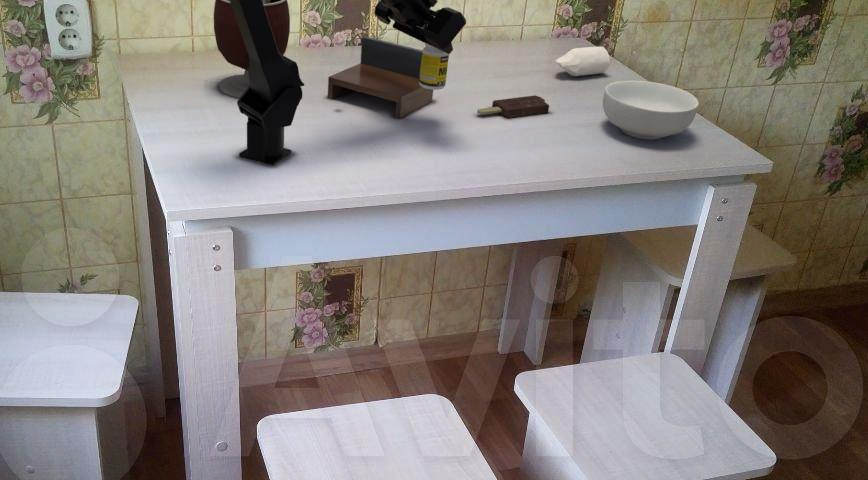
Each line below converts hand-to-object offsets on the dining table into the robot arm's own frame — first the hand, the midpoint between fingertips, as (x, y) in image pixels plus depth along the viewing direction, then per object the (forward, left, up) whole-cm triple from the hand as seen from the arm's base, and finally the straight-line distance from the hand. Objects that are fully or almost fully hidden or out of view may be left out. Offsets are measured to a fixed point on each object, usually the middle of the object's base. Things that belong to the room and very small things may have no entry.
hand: (442, 47), depth 171 cm
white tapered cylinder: (+42, -14, -13) cm, 46 cm away
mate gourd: (-4, +36, -13) cm, 38 cm away
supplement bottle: (-1, +1, -7) cm, 7 cm away
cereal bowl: (+18, -34, -13) cm, 41 cm away
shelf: (+4, +13, -13) cm, 19 cm away
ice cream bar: (+13, -10, -13) cm, 21 cm away
